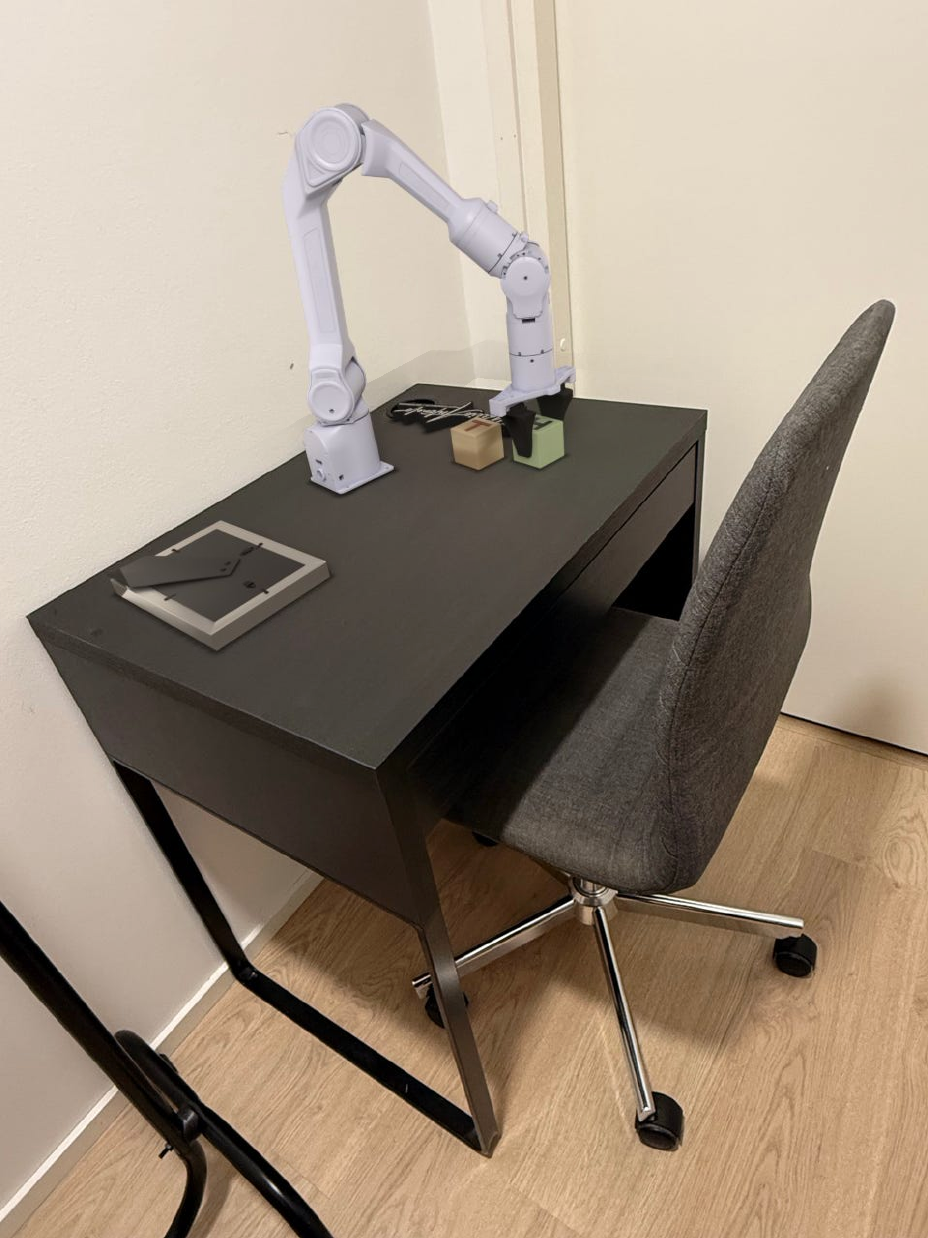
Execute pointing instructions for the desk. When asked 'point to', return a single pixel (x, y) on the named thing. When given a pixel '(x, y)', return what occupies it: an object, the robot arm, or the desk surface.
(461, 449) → the cream block
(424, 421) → the nameplate
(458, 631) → the desk surface
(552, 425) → the sage block
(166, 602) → the picture frame
